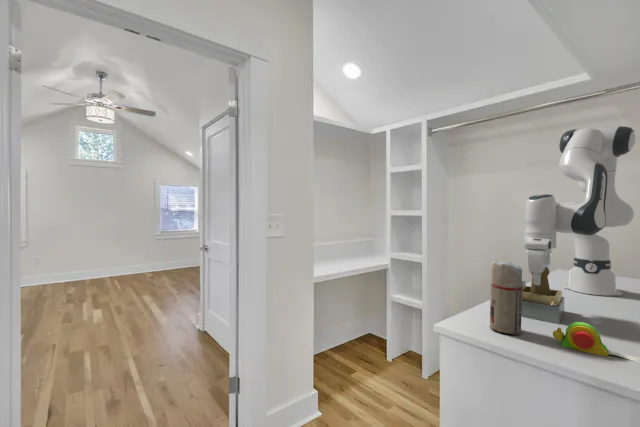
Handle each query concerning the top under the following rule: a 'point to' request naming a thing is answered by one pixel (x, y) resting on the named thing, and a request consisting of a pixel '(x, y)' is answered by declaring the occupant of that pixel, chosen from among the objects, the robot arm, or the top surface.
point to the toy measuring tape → (586, 340)
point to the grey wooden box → (542, 305)
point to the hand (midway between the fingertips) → (539, 282)
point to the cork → (544, 286)
